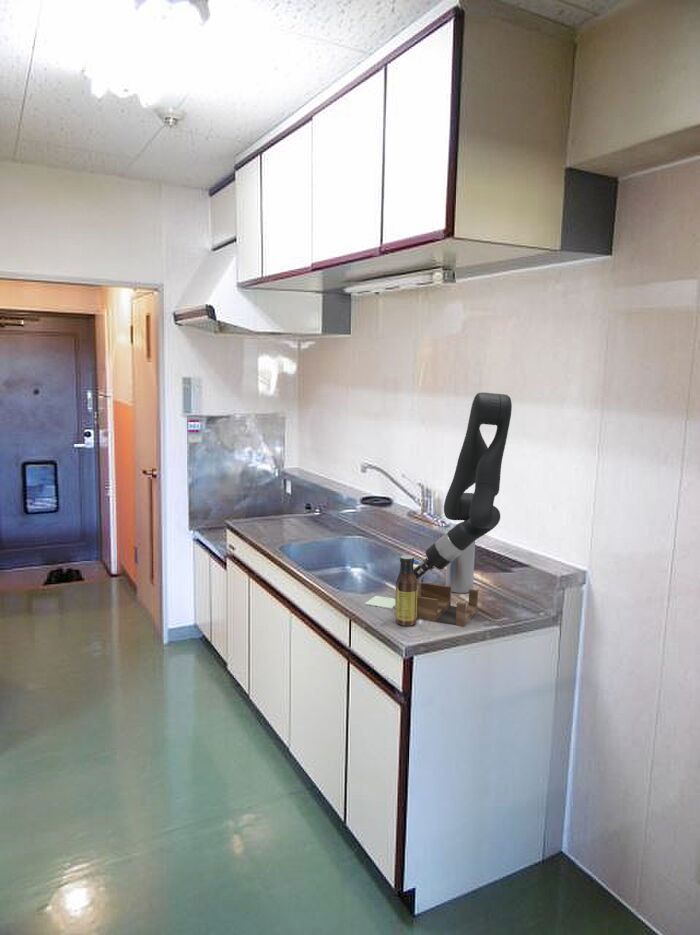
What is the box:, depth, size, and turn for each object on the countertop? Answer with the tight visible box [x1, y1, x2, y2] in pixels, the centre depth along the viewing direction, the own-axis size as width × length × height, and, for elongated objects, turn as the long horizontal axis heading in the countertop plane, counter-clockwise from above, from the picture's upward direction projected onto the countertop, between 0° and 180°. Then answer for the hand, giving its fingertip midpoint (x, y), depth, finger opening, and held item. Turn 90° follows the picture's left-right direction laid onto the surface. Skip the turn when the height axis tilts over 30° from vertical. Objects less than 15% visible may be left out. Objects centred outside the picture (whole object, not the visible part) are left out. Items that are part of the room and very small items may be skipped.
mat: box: [364, 595, 396, 610], centre depth 211 cm, size 9×9×1 cm
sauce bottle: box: [394, 554, 417, 627], centre depth 192 cm, size 6×6×20 cm
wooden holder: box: [416, 581, 479, 627], centre depth 202 cm, size 15×21×6 cm
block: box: [413, 564, 421, 596], centre depth 205 cm, size 5×4×10 cm
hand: (405, 583), depth 206 cm, fingers closed on block, 5 cm apart
